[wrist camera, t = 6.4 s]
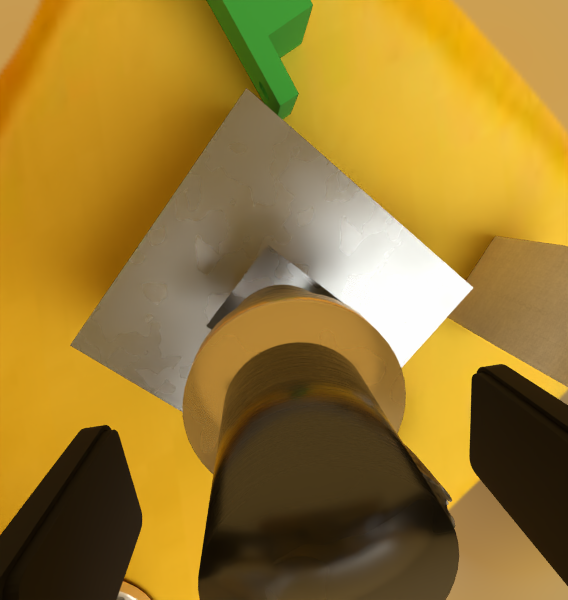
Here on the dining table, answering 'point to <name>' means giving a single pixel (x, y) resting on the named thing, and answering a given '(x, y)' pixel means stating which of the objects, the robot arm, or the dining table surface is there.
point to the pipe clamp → (265, 43)
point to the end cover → (310, 460)
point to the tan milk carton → (521, 303)
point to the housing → (262, 255)
